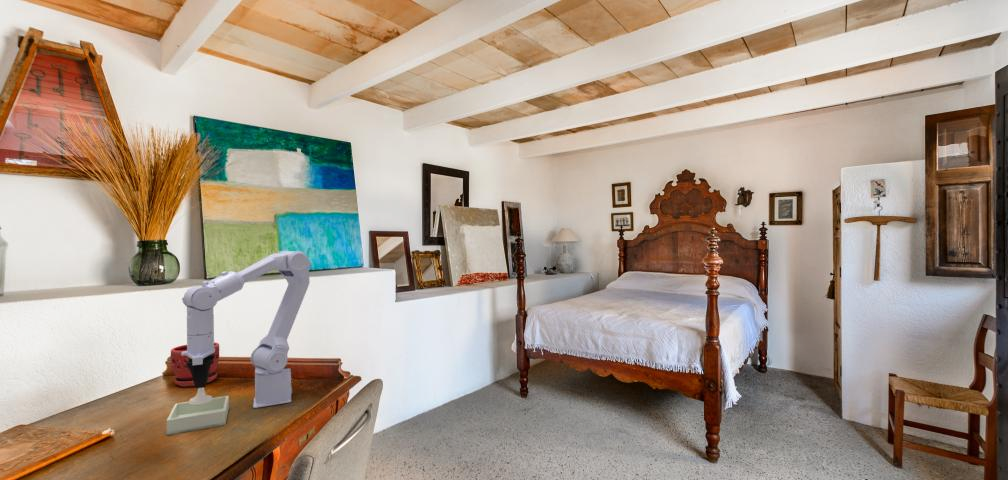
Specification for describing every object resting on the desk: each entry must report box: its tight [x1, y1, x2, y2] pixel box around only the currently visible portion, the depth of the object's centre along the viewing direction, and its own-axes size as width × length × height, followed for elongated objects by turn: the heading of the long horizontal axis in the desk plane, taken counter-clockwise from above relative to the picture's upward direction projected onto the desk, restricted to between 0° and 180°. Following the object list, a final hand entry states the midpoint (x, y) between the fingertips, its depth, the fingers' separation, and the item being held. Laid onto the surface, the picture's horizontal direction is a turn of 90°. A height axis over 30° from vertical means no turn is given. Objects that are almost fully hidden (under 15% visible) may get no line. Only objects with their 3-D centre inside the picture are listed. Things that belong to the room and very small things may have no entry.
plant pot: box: [170, 341, 220, 387], centre depth 145 cm, size 13×13×12 cm
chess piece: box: [188, 387, 213, 404], centre depth 114 cm, size 5×5×10 cm
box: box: [165, 395, 230, 436], centre depth 115 cm, size 12×12×4 cm
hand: (201, 385), depth 114 cm, fingers closed on chess piece, 2 cm apart
